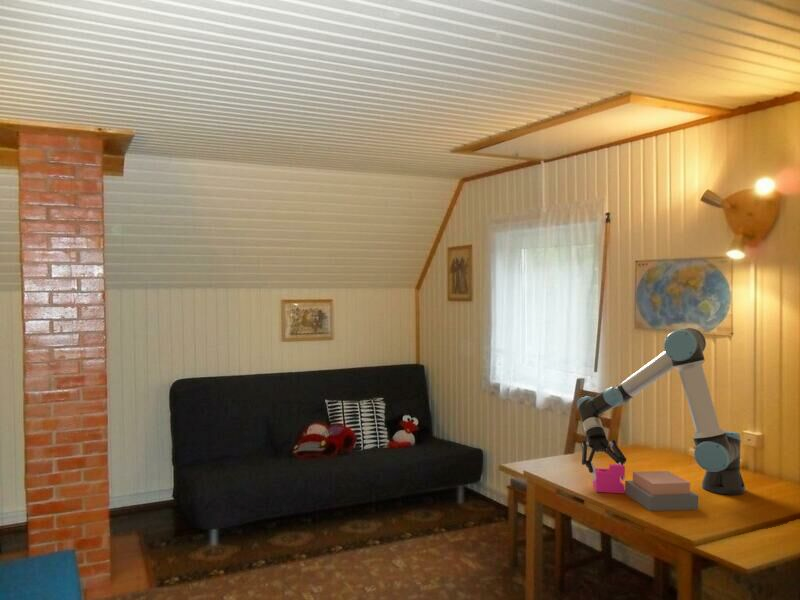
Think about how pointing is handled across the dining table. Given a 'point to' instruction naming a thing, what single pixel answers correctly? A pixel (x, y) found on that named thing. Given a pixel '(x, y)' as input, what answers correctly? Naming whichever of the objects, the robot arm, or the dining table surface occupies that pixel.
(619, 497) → the dining table surface
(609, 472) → the bracket
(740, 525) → the dining table surface
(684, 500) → the two-tone base plate
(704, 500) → the dining table surface
